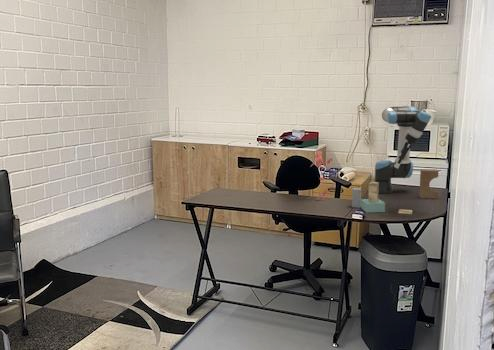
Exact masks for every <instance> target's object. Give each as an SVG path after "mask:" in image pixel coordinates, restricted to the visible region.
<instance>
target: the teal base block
mask: <svg viewBox="0 0 494 350" xmlns="http://www.w3.org/2000/svg"><path fill="white" fill-rule="evenodd" d="M360 208H361V210H363V212H365V213H385V212H386V203H385V202H384V201H383V200H381V199H379V198H378V201H377V202H369V198H367V199H366V198H364V199H362V198H361V206H360Z"/></svg>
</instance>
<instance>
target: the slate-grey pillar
mask: <svg viewBox="0 0 494 350" xmlns="http://www.w3.org/2000/svg"><path fill="white" fill-rule="evenodd" d="M351 191H352V192H351V193H352V194H351V197H352V199H351V207H352V208H359V209H360V208H361V199H362V188H361V187H360V188H359V187H353V188H352V190H351Z"/></svg>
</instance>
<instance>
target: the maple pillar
mask: <svg viewBox="0 0 494 350" xmlns="http://www.w3.org/2000/svg"><path fill="white" fill-rule="evenodd" d="M368 199H369V202H377V201H378V199H379V193H378V182H375V181H370V182H368Z"/></svg>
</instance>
